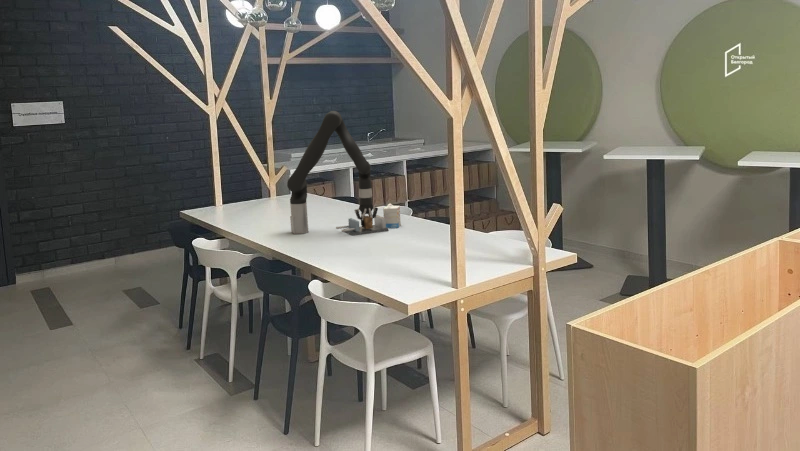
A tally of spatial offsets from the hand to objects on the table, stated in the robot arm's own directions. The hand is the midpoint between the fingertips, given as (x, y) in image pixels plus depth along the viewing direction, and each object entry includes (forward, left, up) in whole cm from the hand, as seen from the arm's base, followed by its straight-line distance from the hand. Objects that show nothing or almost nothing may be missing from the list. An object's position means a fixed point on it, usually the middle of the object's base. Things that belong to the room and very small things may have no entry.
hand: (367, 225), depth 389 cm
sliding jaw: (-12, 0, -1) cm, 12 cm away
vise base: (-1, 0, -3) cm, 3 cm away
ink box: (+17, +3, -3) cm, 18 cm away
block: (0, 0, -1) cm, 1 cm away
